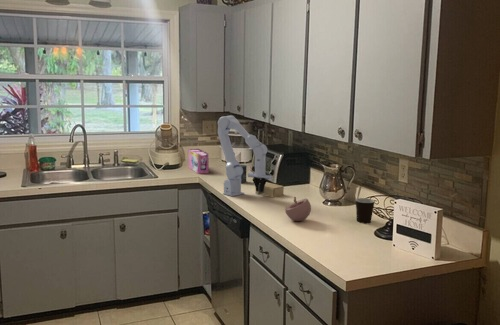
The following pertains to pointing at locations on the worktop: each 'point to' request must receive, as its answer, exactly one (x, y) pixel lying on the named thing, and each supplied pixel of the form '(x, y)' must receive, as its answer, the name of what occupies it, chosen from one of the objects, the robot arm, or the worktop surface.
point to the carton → (275, 189)
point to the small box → (243, 176)
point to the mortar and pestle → (298, 210)
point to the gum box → (198, 161)
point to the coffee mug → (364, 209)
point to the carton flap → (265, 191)
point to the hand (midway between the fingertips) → (259, 191)
